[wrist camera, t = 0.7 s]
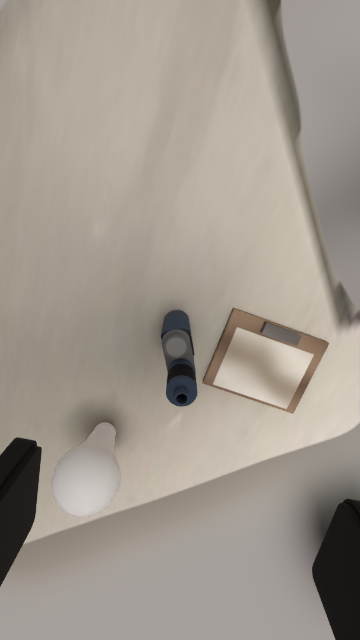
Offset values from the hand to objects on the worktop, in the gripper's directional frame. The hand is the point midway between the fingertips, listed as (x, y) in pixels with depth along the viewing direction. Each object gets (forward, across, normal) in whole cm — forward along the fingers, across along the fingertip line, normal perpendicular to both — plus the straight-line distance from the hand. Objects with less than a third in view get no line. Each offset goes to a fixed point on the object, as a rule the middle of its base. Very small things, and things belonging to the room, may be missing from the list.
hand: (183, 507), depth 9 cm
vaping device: (+24, 0, +2) cm, 25 cm away
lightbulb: (+24, +6, +15) cm, 29 cm away
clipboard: (+24, -10, +4) cm, 26 cm away
